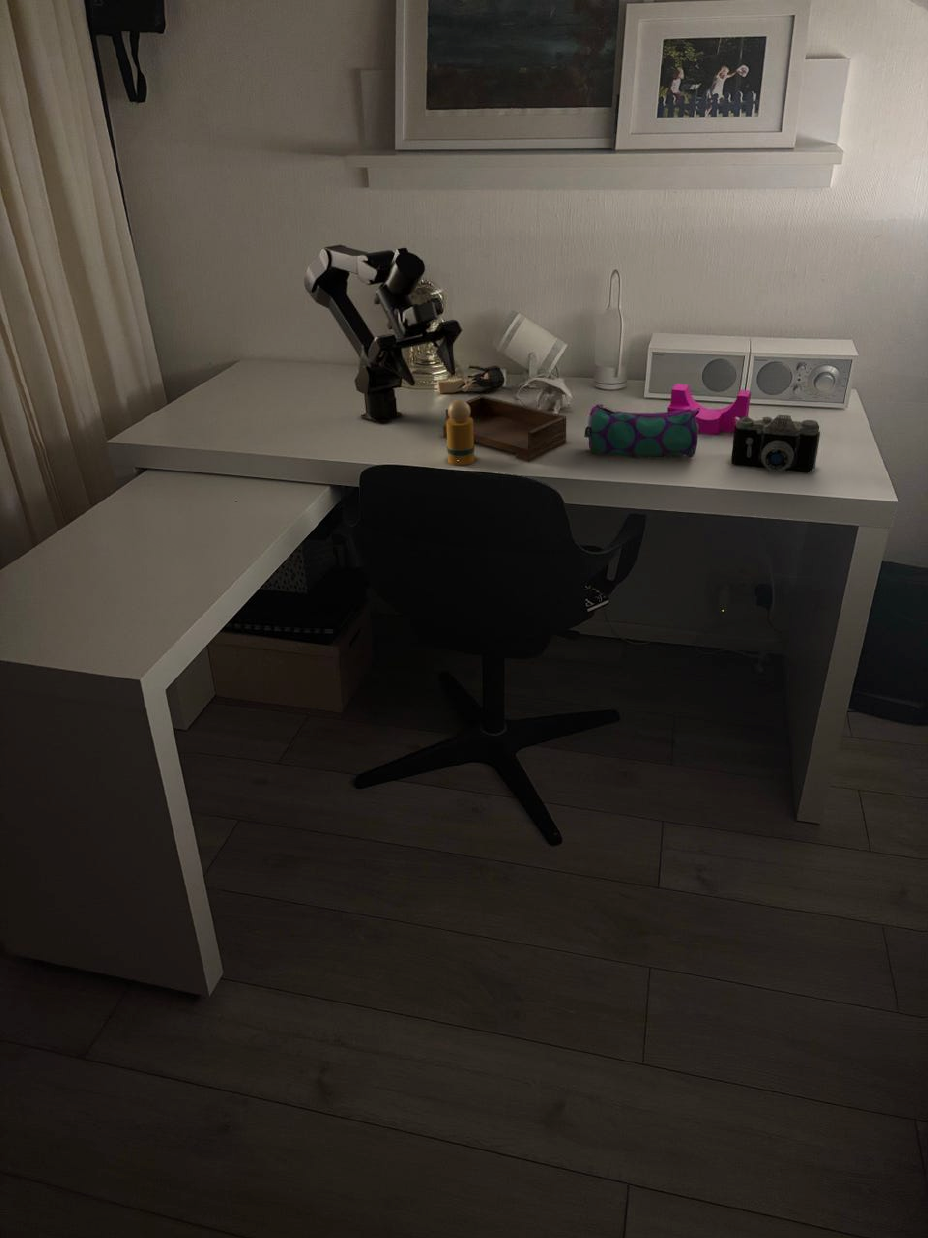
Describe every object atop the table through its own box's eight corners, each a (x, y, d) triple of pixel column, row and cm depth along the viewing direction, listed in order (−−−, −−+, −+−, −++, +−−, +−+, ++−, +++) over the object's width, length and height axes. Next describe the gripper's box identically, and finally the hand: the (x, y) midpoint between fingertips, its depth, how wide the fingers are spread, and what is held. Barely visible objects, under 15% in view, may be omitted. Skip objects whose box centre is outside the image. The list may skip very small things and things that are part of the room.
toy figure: (443, 401, 217) (508, 390, 219) (440, 373, 214) (506, 362, 216) (438, 395, 223) (501, 385, 225) (434, 367, 221) (498, 357, 223)
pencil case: (583, 461, 184) (584, 412, 179) (588, 443, 191) (589, 396, 186) (695, 466, 180) (700, 416, 175) (696, 448, 187) (700, 399, 182)
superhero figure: (570, 430, 200) (583, 390, 216) (569, 388, 195) (582, 350, 210) (521, 429, 203) (537, 389, 218) (519, 387, 197) (535, 349, 213)
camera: (727, 471, 177) (732, 419, 172) (732, 458, 182) (738, 406, 177) (812, 480, 172) (820, 427, 167) (814, 466, 178) (823, 413, 172)
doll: (443, 458, 188) (440, 398, 182) (467, 453, 190) (465, 394, 183) (454, 467, 184) (451, 406, 177) (479, 462, 185) (477, 401, 179)
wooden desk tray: (443, 437, 197) (441, 411, 194) (481, 420, 205) (480, 394, 202) (528, 461, 185) (528, 434, 182) (566, 442, 192) (566, 416, 189)
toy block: (665, 429, 196) (668, 393, 192) (673, 418, 201) (675, 383, 197) (741, 437, 191) (745, 400, 187) (746, 426, 196) (751, 390, 192)
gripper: (370, 292, 177) (406, 366, 175) (454, 276, 186) (490, 346, 183) (353, 327, 186) (387, 398, 184) (434, 310, 195) (467, 377, 193)
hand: (433, 379), depth 186 cm, fingers open, 9 cm apart
